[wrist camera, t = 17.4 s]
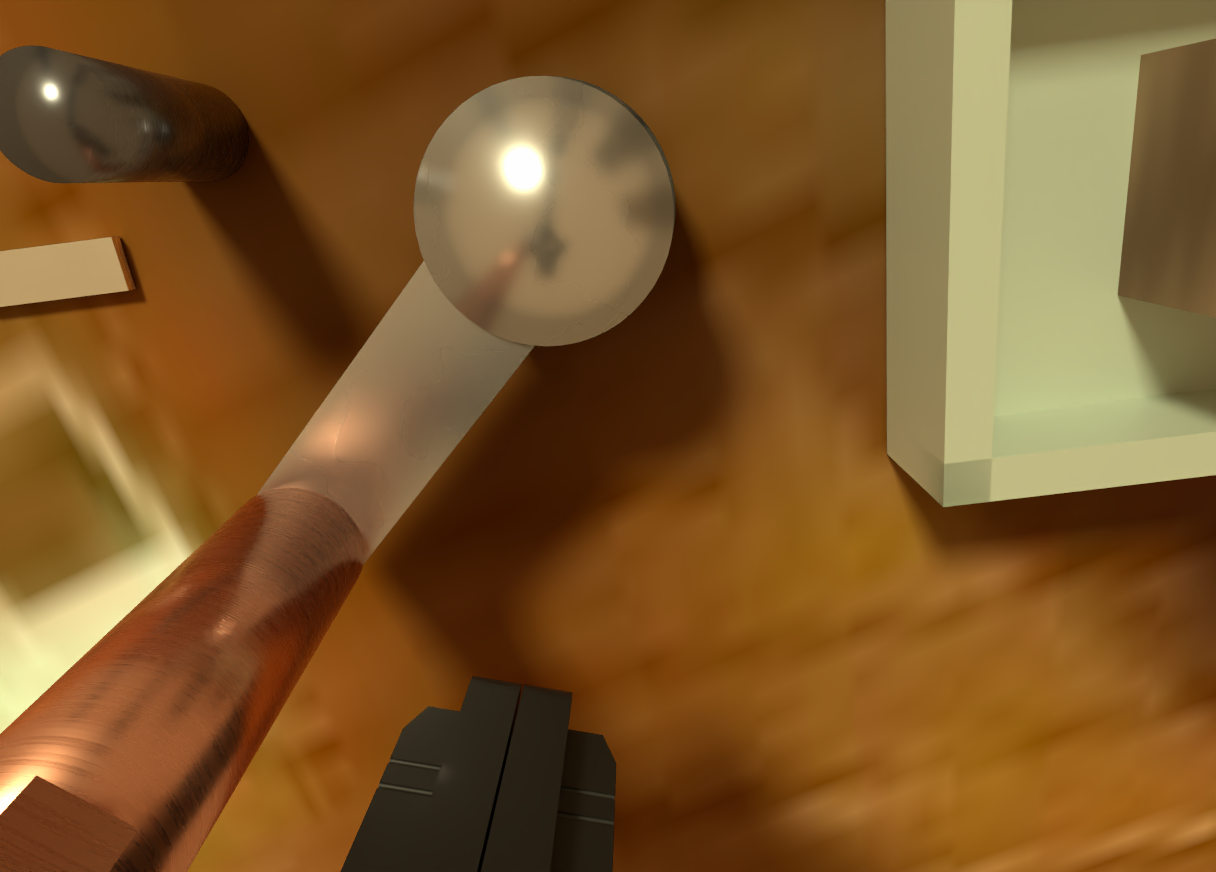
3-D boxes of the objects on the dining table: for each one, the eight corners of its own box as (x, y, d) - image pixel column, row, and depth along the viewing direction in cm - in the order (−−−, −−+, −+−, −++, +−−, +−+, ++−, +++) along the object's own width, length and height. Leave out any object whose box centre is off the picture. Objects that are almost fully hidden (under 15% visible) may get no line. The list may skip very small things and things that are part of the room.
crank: (530, 38, 14) (334, -381, 3) (707, 194, 15) (982, 238, 4) (202, 509, 17) (-448, 1065, 6) (369, 615, 18) (42, 1251, 7)
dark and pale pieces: (-83, 119, 17) (-353, 97, 12) (649, 22, 16) (673, -41, 11) (20, 385, 18) (-178, 457, 14) (676, 303, 18) (705, 348, 13)
